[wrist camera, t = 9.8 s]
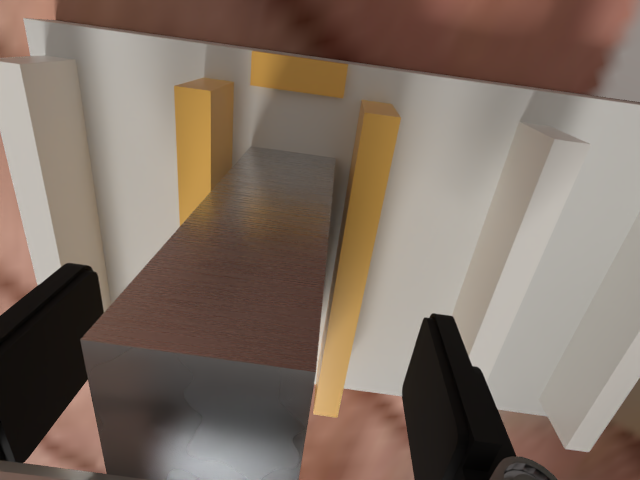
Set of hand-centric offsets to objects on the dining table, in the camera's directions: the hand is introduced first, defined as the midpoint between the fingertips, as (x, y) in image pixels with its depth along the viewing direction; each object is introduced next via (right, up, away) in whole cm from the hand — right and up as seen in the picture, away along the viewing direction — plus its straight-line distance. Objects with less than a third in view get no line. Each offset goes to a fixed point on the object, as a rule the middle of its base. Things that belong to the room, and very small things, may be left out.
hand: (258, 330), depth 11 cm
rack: (+3, +3, +6) cm, 7 cm away
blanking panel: (0, +2, +4) cm, 5 cm away
